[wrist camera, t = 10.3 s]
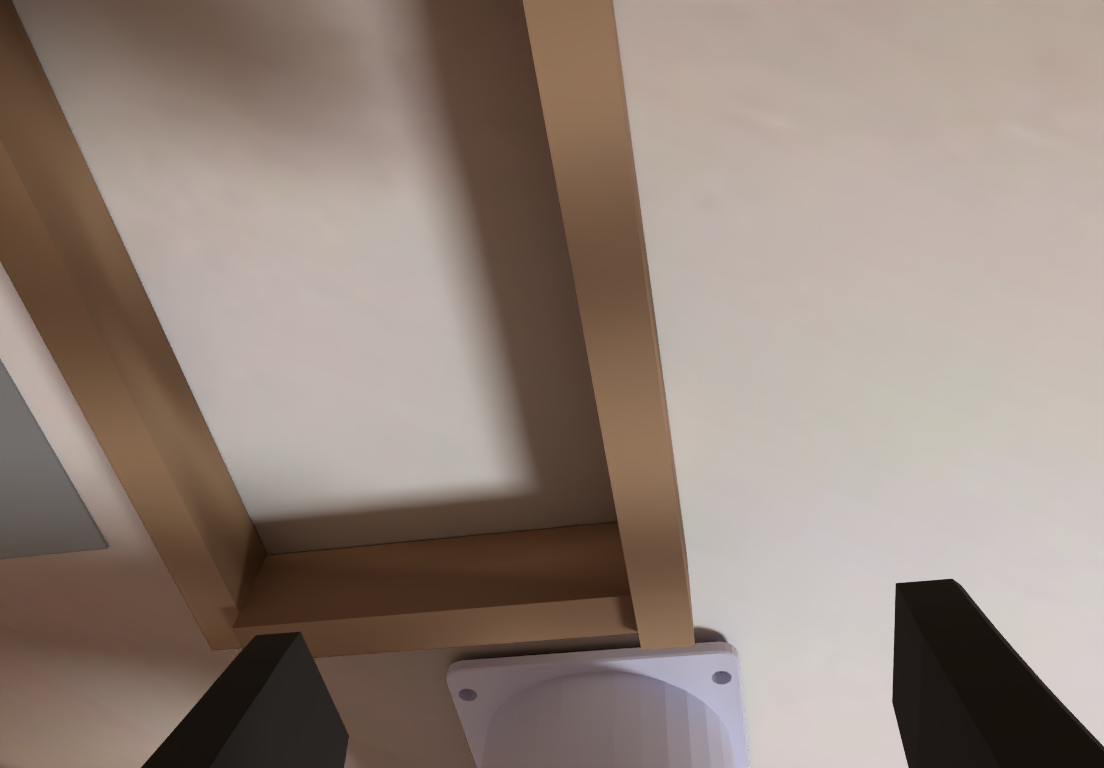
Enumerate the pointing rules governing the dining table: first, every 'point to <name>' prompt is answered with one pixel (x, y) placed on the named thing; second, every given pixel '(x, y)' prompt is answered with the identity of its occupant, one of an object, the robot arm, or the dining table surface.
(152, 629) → the dining table surface
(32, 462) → the potting mat
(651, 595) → the cold frame
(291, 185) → the dining table surface
